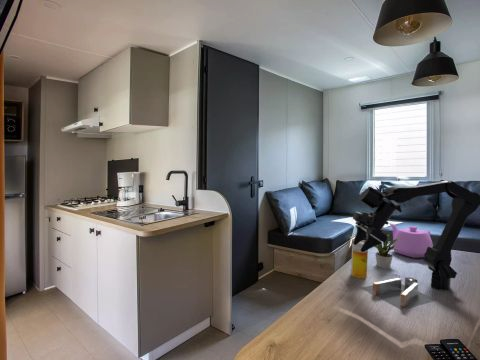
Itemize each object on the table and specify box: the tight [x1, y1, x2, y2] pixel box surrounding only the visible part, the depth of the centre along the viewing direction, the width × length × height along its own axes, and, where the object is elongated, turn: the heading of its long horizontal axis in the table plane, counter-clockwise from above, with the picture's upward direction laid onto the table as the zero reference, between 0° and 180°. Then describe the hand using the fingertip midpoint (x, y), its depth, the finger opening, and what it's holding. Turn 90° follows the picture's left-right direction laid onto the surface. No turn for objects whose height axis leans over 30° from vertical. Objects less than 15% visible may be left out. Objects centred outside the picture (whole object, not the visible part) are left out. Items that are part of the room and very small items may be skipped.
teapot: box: [388, 223, 434, 259], centre depth 152 cm, size 23×21×15 cm
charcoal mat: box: [360, 283, 438, 311], centre depth 101 cm, size 18×17×1 cm
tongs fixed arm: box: [372, 277, 403, 297], centre depth 102 cm, size 13×1×4 cm, turn 113°
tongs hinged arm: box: [400, 276, 419, 308], centre depth 99 cm, size 18×5×4 cm, turn 133°
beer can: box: [350, 240, 369, 279], centre depth 117 cm, size 6×6×15 cm
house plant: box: [373, 232, 402, 269], centre depth 127 cm, size 14×14×16 cm
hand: (357, 247), depth 110 cm, fingers open, 9 cm apart
